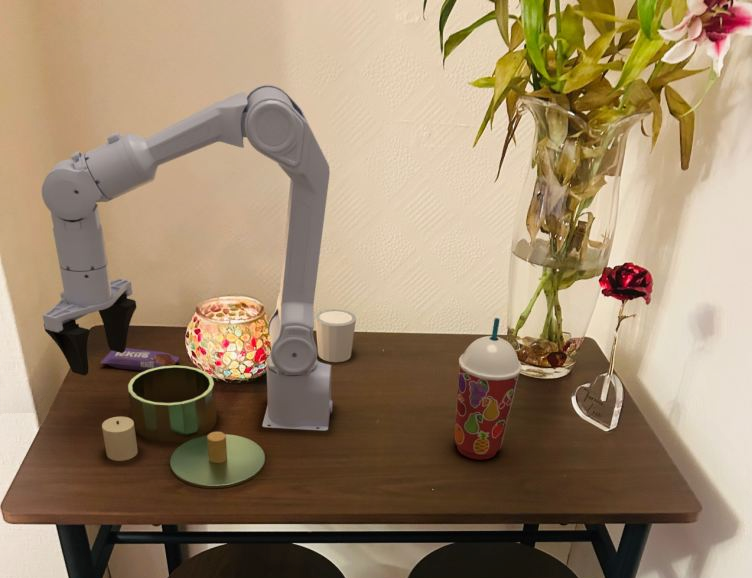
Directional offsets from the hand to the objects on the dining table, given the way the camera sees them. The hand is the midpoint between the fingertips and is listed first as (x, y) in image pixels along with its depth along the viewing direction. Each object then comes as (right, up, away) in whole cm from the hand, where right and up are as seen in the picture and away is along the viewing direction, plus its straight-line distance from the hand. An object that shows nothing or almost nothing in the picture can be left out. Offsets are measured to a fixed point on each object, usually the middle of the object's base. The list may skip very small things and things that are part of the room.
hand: (99, 361), depth 105 cm
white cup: (+30, +5, +28) cm, 42 cm away
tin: (+8, -8, +7) cm, 13 cm away
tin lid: (+16, -14, -2) cm, 21 cm away
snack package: (-1, +2, +21) cm, 21 cm away
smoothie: (+52, -12, +6) cm, 54 cm away
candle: (+3, -13, -1) cm, 13 cm away
